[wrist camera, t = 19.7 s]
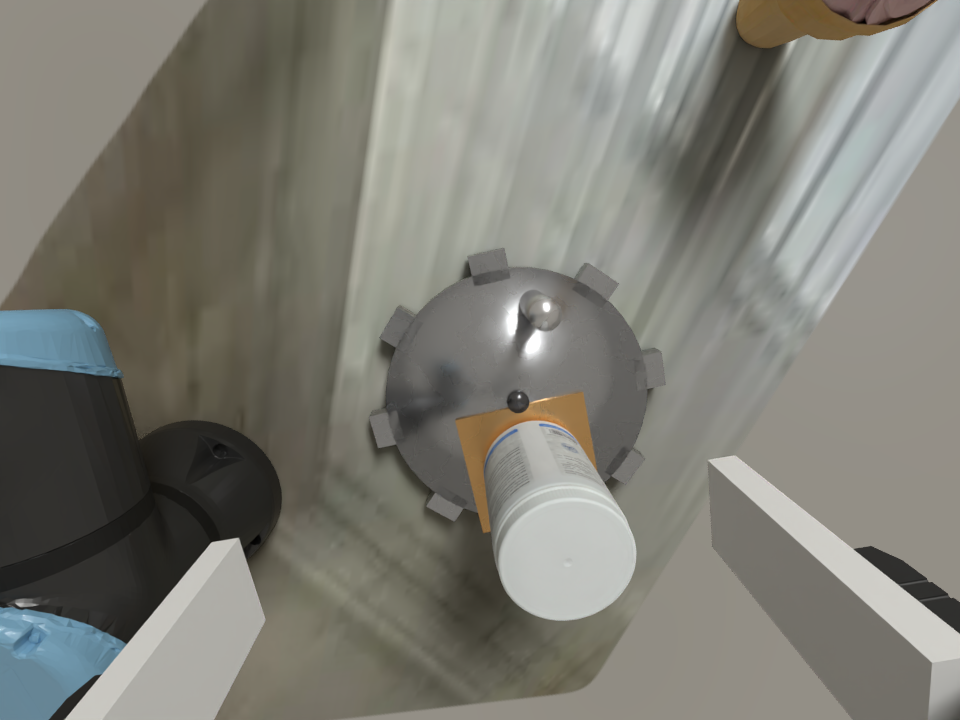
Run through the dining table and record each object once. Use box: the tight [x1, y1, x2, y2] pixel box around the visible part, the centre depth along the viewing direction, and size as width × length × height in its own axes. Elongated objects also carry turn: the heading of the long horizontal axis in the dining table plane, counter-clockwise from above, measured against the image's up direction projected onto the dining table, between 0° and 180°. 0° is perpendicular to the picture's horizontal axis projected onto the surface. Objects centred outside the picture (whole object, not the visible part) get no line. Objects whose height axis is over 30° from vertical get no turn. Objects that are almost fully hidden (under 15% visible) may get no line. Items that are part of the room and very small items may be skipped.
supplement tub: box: [484, 421, 636, 621], centre depth 39 cm, size 10×10×15 cm
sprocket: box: [369, 248, 666, 533], centre depth 42 cm, size 27×27×9 cm
